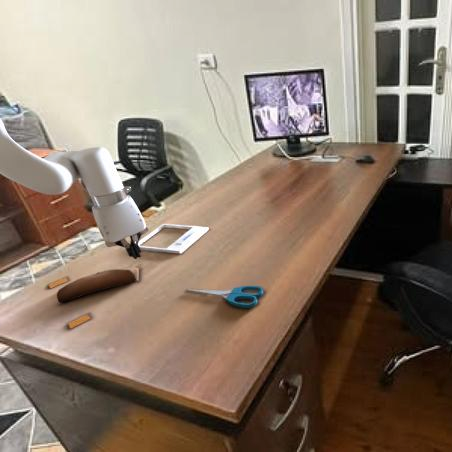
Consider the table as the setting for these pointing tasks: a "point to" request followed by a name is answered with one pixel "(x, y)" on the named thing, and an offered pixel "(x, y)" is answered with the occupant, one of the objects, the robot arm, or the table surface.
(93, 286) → the sunglasses case
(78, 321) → the tape marks
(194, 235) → the photo frame
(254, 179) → the table surface
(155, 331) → the table surface
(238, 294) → the scissors
